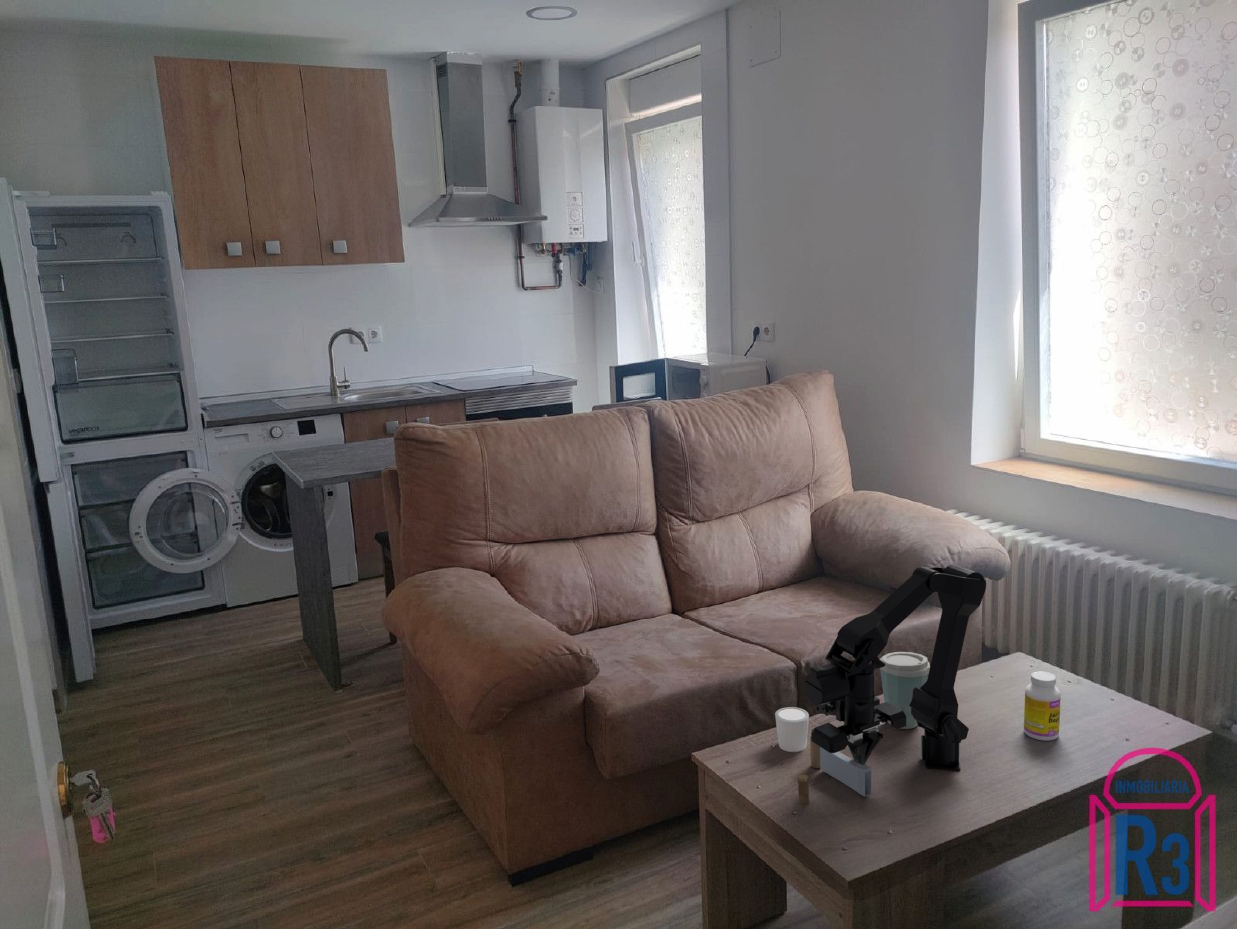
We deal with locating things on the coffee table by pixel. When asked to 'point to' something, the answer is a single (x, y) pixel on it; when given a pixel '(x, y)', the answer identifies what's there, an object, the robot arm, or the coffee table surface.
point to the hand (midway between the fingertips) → (859, 767)
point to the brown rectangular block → (803, 789)
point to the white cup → (792, 728)
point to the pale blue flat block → (842, 769)
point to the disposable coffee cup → (903, 680)
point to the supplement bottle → (1042, 707)
